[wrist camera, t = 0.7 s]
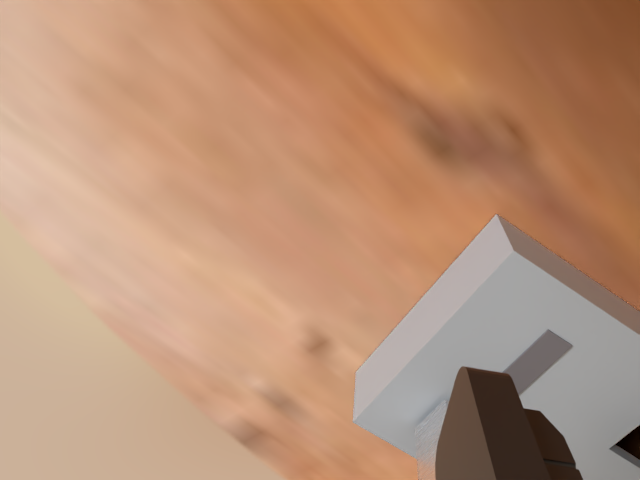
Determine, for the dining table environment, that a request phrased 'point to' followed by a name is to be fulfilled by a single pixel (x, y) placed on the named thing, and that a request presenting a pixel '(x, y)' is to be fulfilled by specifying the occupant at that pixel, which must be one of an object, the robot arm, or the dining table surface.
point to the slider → (429, 441)
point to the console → (514, 350)
